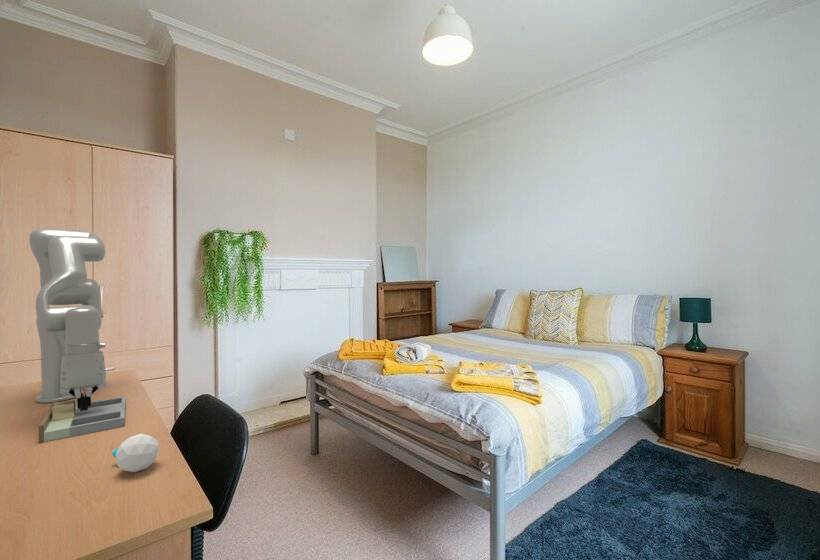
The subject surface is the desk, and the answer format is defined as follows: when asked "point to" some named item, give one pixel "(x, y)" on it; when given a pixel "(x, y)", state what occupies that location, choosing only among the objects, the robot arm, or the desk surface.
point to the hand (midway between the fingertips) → (84, 409)
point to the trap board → (84, 420)
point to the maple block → (64, 410)
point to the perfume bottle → (136, 453)
